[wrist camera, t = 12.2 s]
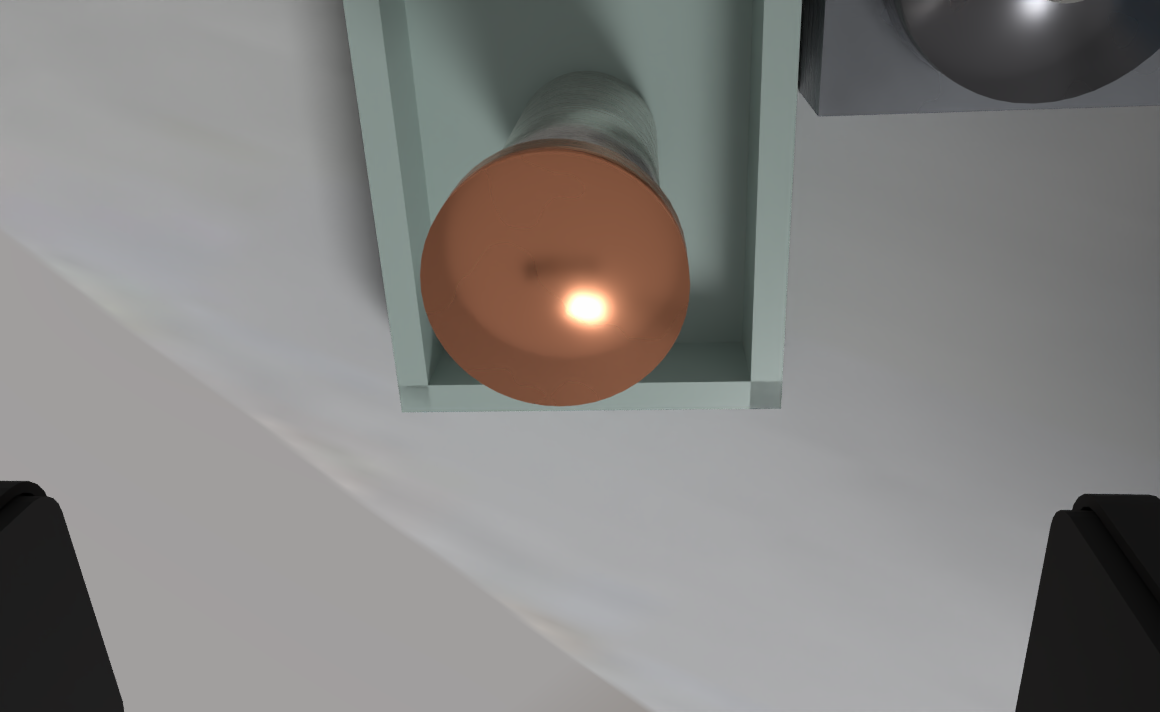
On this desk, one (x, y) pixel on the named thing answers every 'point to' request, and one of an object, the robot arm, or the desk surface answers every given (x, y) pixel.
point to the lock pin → (561, 251)
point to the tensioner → (978, 55)
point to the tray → (685, 154)
